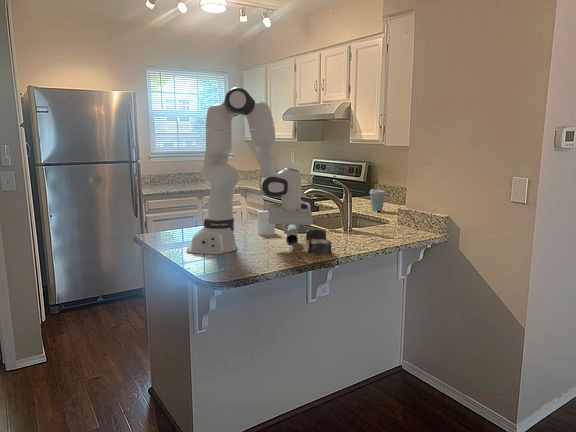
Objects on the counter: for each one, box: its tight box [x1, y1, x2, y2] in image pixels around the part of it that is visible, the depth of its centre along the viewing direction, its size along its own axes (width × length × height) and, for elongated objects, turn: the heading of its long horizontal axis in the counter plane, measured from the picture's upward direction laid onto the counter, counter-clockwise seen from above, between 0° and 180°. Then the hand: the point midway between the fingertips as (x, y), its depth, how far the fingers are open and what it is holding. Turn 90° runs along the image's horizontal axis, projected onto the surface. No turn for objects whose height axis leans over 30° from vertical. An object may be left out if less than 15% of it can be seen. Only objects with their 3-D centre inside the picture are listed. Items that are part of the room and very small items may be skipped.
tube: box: [285, 224, 299, 247], centre depth 197 cm, size 5×5×25 cm
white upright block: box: [257, 210, 276, 236], centre depth 226 cm, size 9×9×12 cm
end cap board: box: [305, 228, 333, 256], centre depth 199 cm, size 10×29×5 cm, turn 0°
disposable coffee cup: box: [369, 188, 386, 212], centre depth 291 cm, size 11×11×15 cm
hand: (290, 233), depth 198 cm, fingers closed on tube, 2 cm apart
